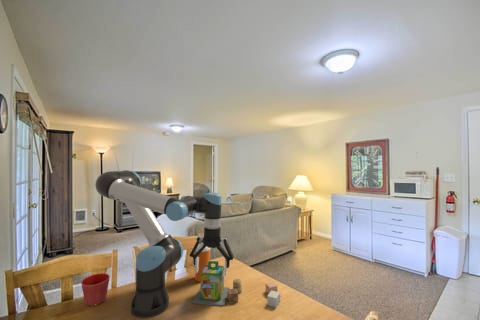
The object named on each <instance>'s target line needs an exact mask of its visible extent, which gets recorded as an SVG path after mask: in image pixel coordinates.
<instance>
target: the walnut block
mask: <svg viewBox="0 0 480 320" xmlns="http://www.w3.org/2000/svg"><path fill="white" fill-rule="evenodd" d="M227 299H228V304H235V303H237V304H238V303H239V294H238V291H237V289H233V288H230V289H228V296H227Z"/></svg>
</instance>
